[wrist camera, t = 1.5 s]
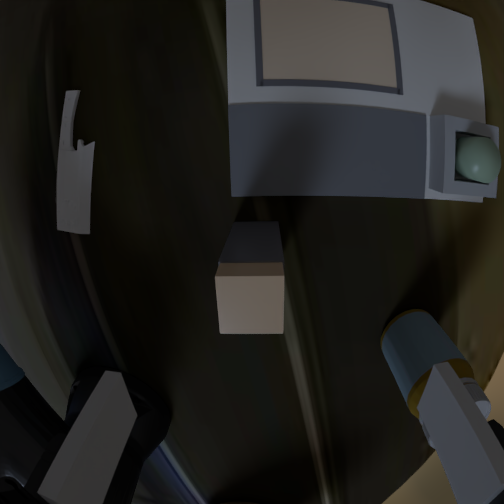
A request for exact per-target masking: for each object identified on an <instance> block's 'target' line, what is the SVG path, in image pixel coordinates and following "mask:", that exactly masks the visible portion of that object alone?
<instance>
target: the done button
mask: <svg viewBox="0 0 504 504" xmlns="http://www.w3.org/2000/svg"><path fill="white" fill-rule="evenodd" d="M500 167H501V156H500V152H499V149H498V147H497V145H496V144H495V143H494V142H493V141H492V140H491V139H489V138H487V137H471V136H462V137H460V138H458V139H457V140H456V141H455V171H456V172H457V173H458V174H459V175H460V176H462V177H464V178H468V179H472V180H475V181H479V182H483V183H490V182H492V181H494V180H495V179H496V177H497V176H498V174H499V171H500Z"/></svg>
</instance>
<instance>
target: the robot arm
mask: <svg viewBox="0 0 504 504" xmlns="http://www.w3.org/2000/svg"><path fill="white" fill-rule="evenodd" d="M417 409H418V411H419V413H420V416H421V418H422V420H423V422H424V424H425V426H426V429H427V431H428V433H429V435H430V438H431V440H432V442H433V444H434V447H435V449H436V451H437V454H438V456H439V458H440V460H441V463H442V465H443V468H444V470H445V473H446V475H447V477H448V480H449V482H450V485H451V488H452V490H453V493H454V495H455V498H456V501H457V504H504V428H503V427H502V426H501V425H500V424H499V423H497V422H496V421H495V420H494V419H493V420H490V421H488V422H487V421H486V419H485V417H484V416H483V414H482V413H481V411H480V409H479V408H478V406H477V405H476V403H475V401H474V400H473V398H472V397H471V395H470V394H469V392H468V391H467V389H466V388H465V386H464V385H463V383H462V382H461V380H460V379H459V377H458V376H457V374H456V373H455V371H454V370H453V368H452V367H451V365H450V364H449V363H448V362H443V363H438V364H434V366H433V368H432V371H431V374H430V376H429V379H428V382H427V384H426V387H425V389H424V392H423V394H422V397H421V399H420V402H419V404H418V406H417ZM170 422H171V417H170V413H169V410H168V408H167V406H166V404H165V403H164V401H163V400H162V399H161V398H160V396H159V395H158V394H157V393H156V392H155V391H153V390H152V389H151V388H150V387H149V386H147V385H146V384H145V383H143V382H142V381H140V380H138V379H137V378H135V377H133V376H131V375H129V374H127V373H125V372H122V371H119V370H116V369H113V368H109V367H101V366H95V367H89V368H86V369H84V370H83V371H81V372H80V374H79V375H78V376H77V378H76V379H75V381H74V382H73V384H72V386H71V390H70V395H69V400H68V405H67V411H66V417H65V420H64V421H63V420H62V418H61V417H60V416H59V415H58V414H57V413H56V412H55V411H54V410H53V408H52V407H51V406H50V405H49V404H48V403H47V402H46V400H45V399H44V398H43V397H42V396H41V394H40V393H39V392H38V391H37V390H36V388H35V387H34V386H33V385H32V383H31V382H30V381H29V380H28V378H27V377H26V376H25V372H24V371H23V369H22V368H20V367H18V366H17V364H16V363H15V362H14V360H13V359H12V358H11V357H10V355H9V354H8V353H7V351H6V350H5V348H4V347H3V346H2V345H1V344H0V504H131V502H132V498H133V495H134V492H135V488H136V485H137V482H138V479H139V475H140V472H141V469H142V466H143V463H144V462H145V460H146V459H147V458H148V457H149V456H150V455H151V454H152V452H153V451H154V450H155V449H156V448H157V447H158V446H159V444H160V443H161V442H162V441H163V440H164V438H165V437H166V435H167V432H168V429H169V426H170Z"/></svg>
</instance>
